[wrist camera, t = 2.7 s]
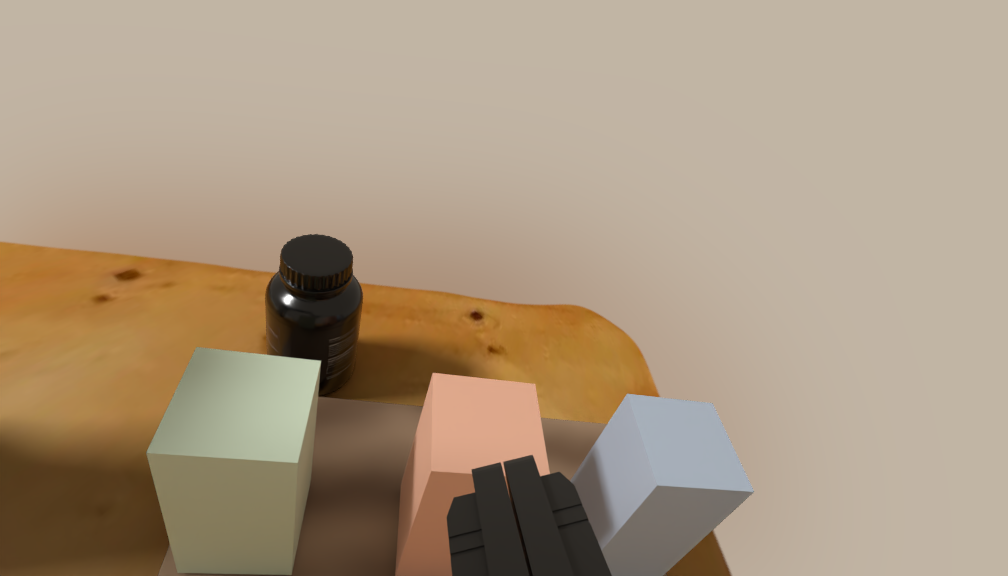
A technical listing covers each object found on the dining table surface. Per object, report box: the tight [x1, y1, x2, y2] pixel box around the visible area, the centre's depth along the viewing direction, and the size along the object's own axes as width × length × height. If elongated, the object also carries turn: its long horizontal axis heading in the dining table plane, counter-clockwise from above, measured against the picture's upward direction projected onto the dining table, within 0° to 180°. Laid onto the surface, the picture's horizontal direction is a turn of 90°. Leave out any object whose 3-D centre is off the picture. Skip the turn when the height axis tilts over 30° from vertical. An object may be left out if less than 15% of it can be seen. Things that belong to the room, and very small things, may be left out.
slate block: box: [570, 394, 754, 576], centre depth 35 cm, size 6×6×12 cm
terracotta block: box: [395, 373, 550, 576], centre depth 32 cm, size 6×6×12 cm
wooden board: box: [158, 397, 667, 576], centre depth 37 cm, size 16×32×1 cm, turn 95°
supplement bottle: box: [265, 234, 363, 396], centre depth 40 cm, size 7×7×12 cm
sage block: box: [146, 347, 321, 575], centre depth 29 cm, size 6×6×12 cm
